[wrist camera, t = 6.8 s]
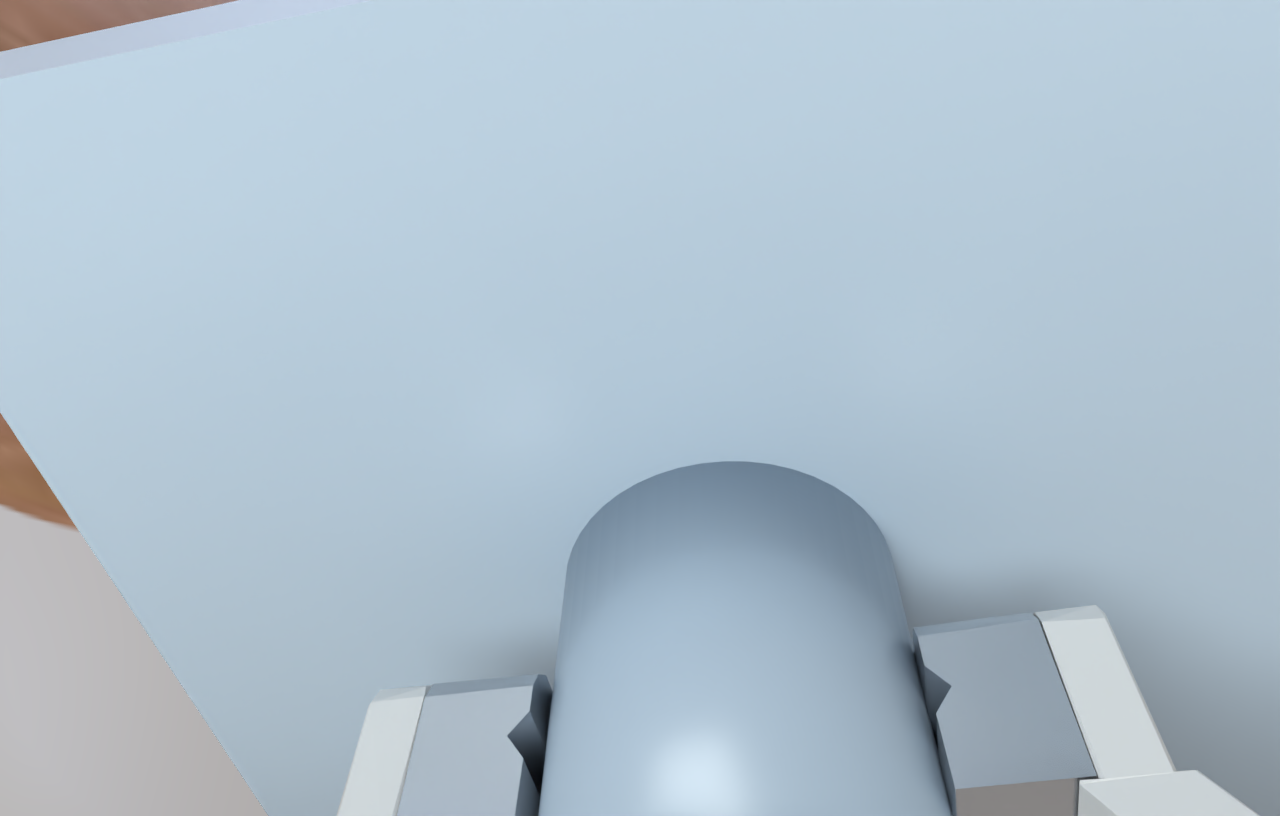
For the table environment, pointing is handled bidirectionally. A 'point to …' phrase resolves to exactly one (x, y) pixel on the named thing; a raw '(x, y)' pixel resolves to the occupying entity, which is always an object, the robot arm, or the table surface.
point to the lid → (660, 368)
